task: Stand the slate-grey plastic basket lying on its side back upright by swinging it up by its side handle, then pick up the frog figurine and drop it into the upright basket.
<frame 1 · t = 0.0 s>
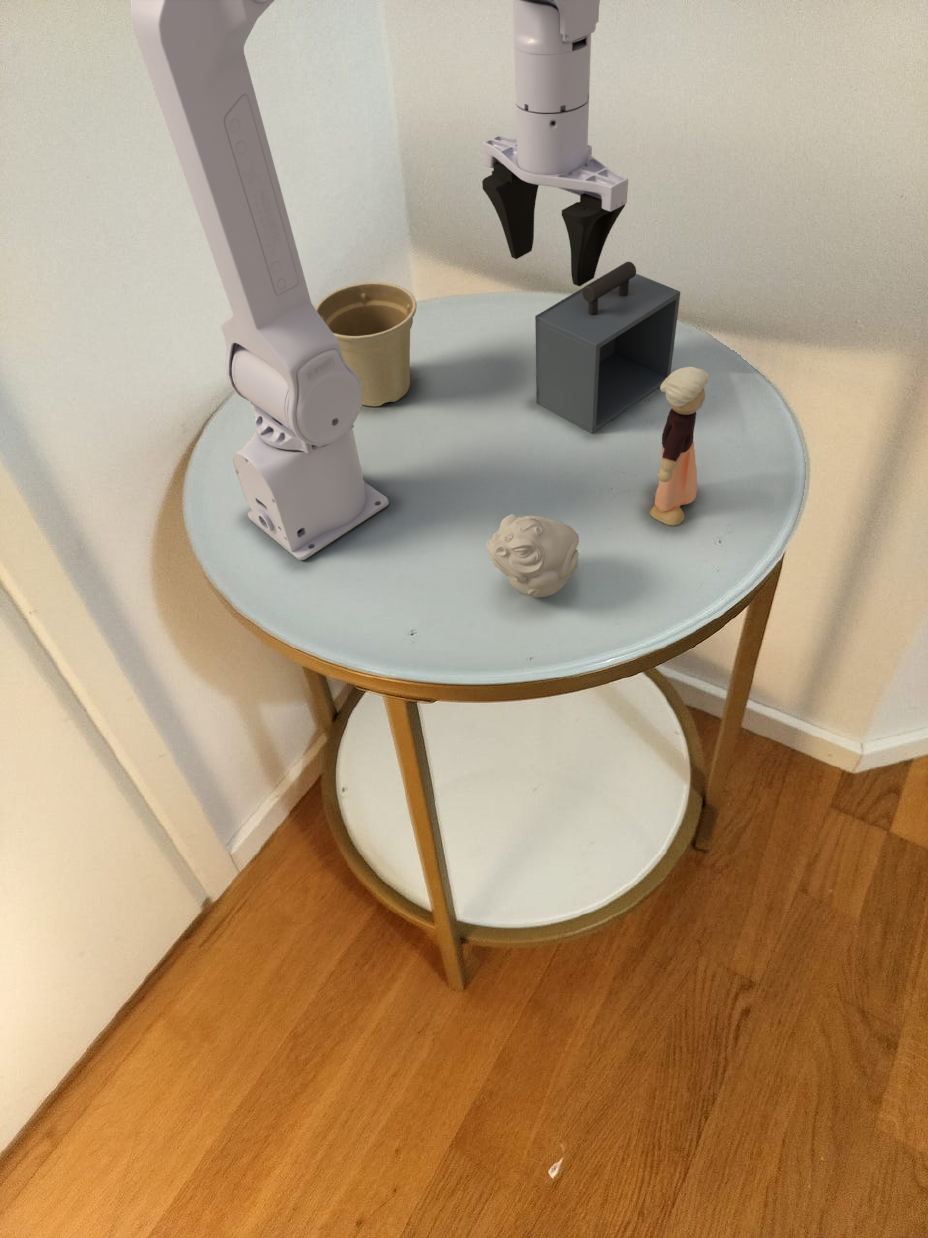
hand: (551, 267, 78), 10 cm above the table, tool pointing down, fingers open, 7 cm apart
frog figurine: (535, 589, 66), on the table
flower pot: (379, 390, 85), on the table
grandmother figurine: (670, 503, 71), on the table
basket: (606, 335, 77), point 6 cm above the table, hinge at 90.0°
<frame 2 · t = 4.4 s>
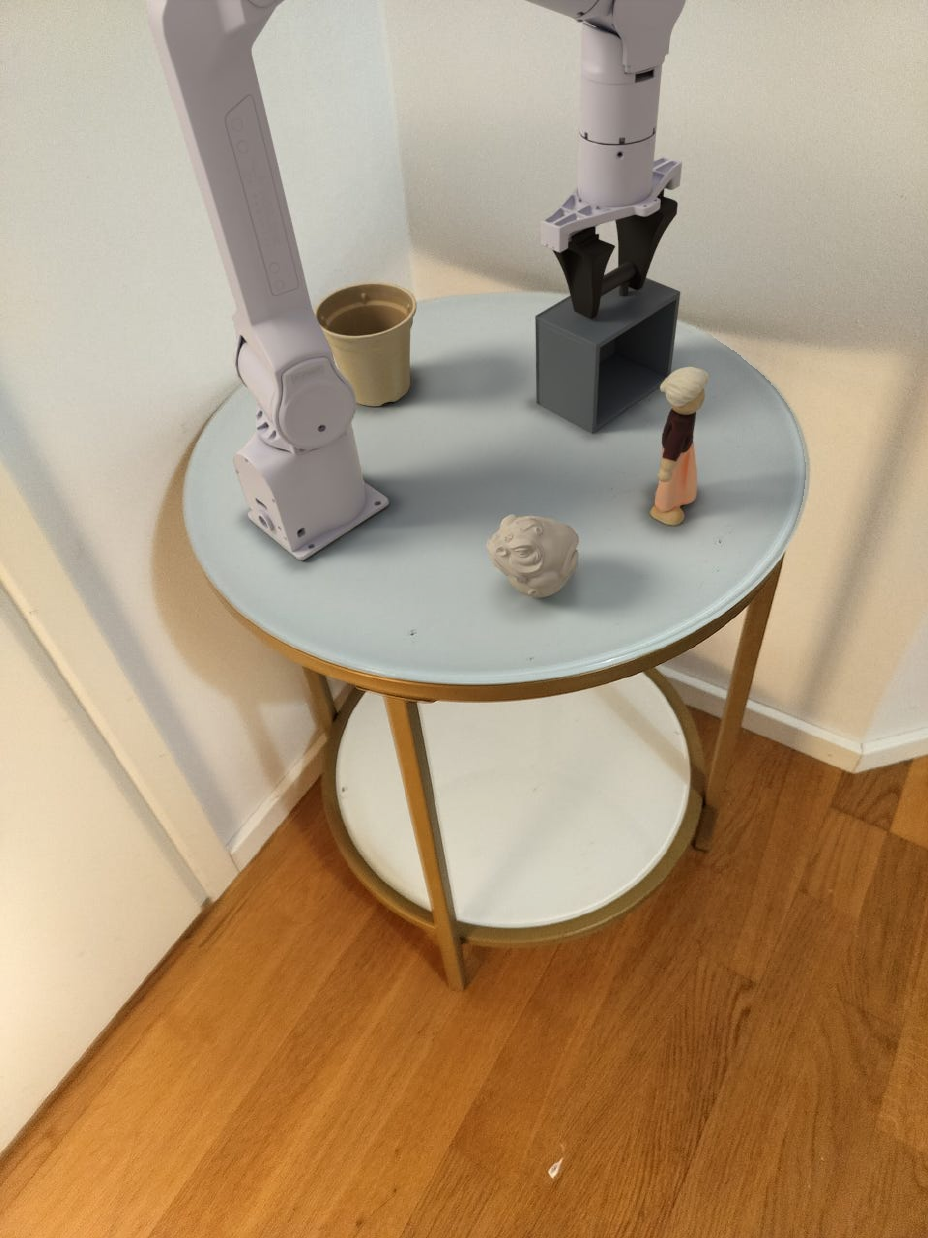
hand: (608, 299, 75), 9 cm above the table, tool pointing down, fingers closed on basket, 5 cm apart
basket: (606, 335, 77), point 6 cm above the table, hinge at 90.0°, touching gripper
everything else where it was.
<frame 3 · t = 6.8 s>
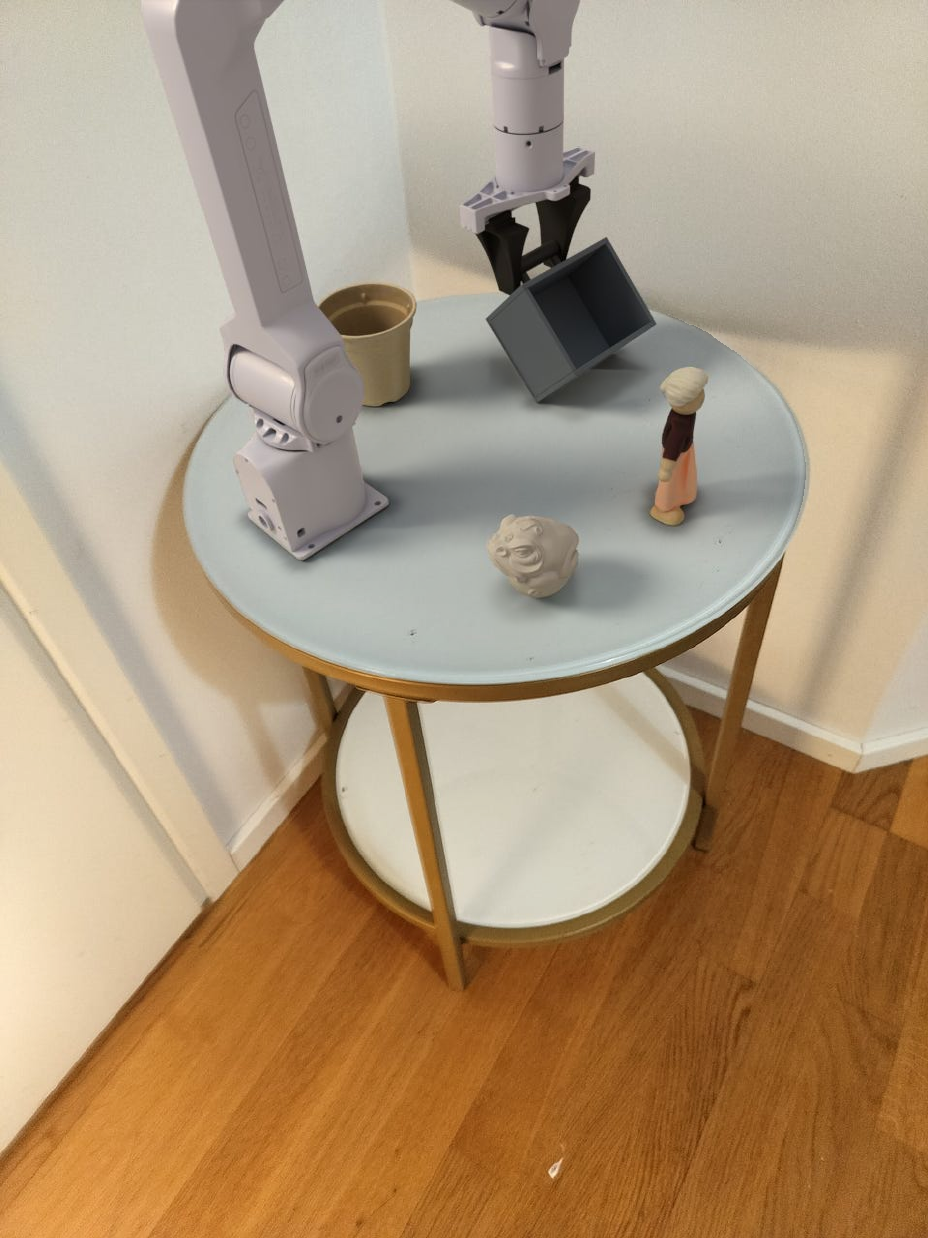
hand: (531, 279, 80), 8 cm above the table, tool pointing down, fingers closed on basket, 5 cm apart
basket: (563, 308, 80), point 7 cm above the table, hinge at 44.0°, touching gripper
everything else where it was.
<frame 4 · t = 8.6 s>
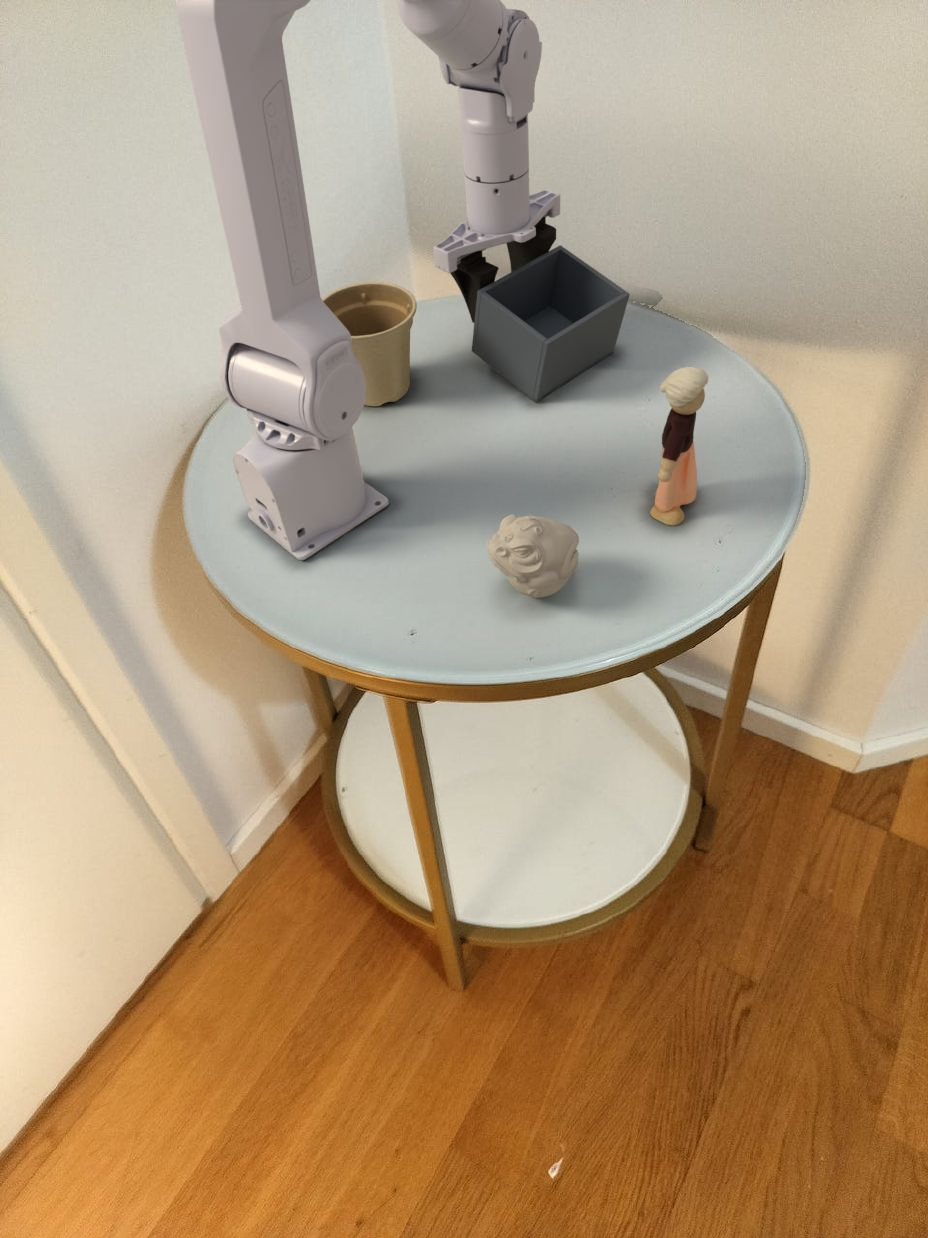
hand: (502, 311, 86), 3 cm above the table, tool pointing down, fingers closed on basket, 5 cm apart
basket: (538, 315, 83), point 5 cm above the table, hinge at 12.4°, touching gripper
everything else where it was.
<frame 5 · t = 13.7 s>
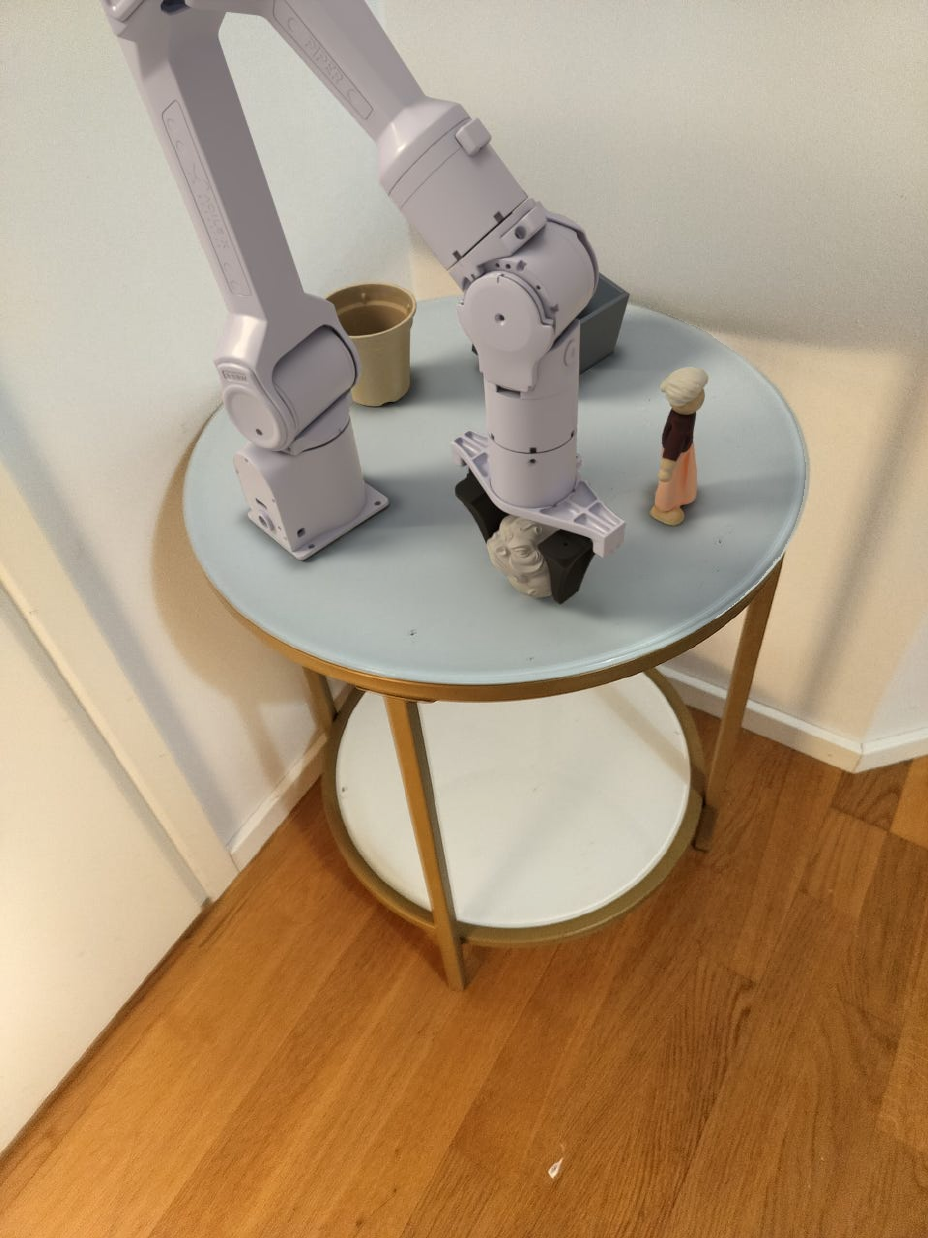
hand: (534, 573, 65), 2 cm above the table, tool pointing down, fingers closed on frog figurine, 6 cm apart
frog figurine: (535, 589, 66), on the table, touching gripper
basket: (538, 315, 83), point 5 cm above the table, hinge at 12.7°
everything else where it was.
when the fingers open (9 cm above the table, at t = 18.4 s): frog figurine moves 1 cm, resting on basket.
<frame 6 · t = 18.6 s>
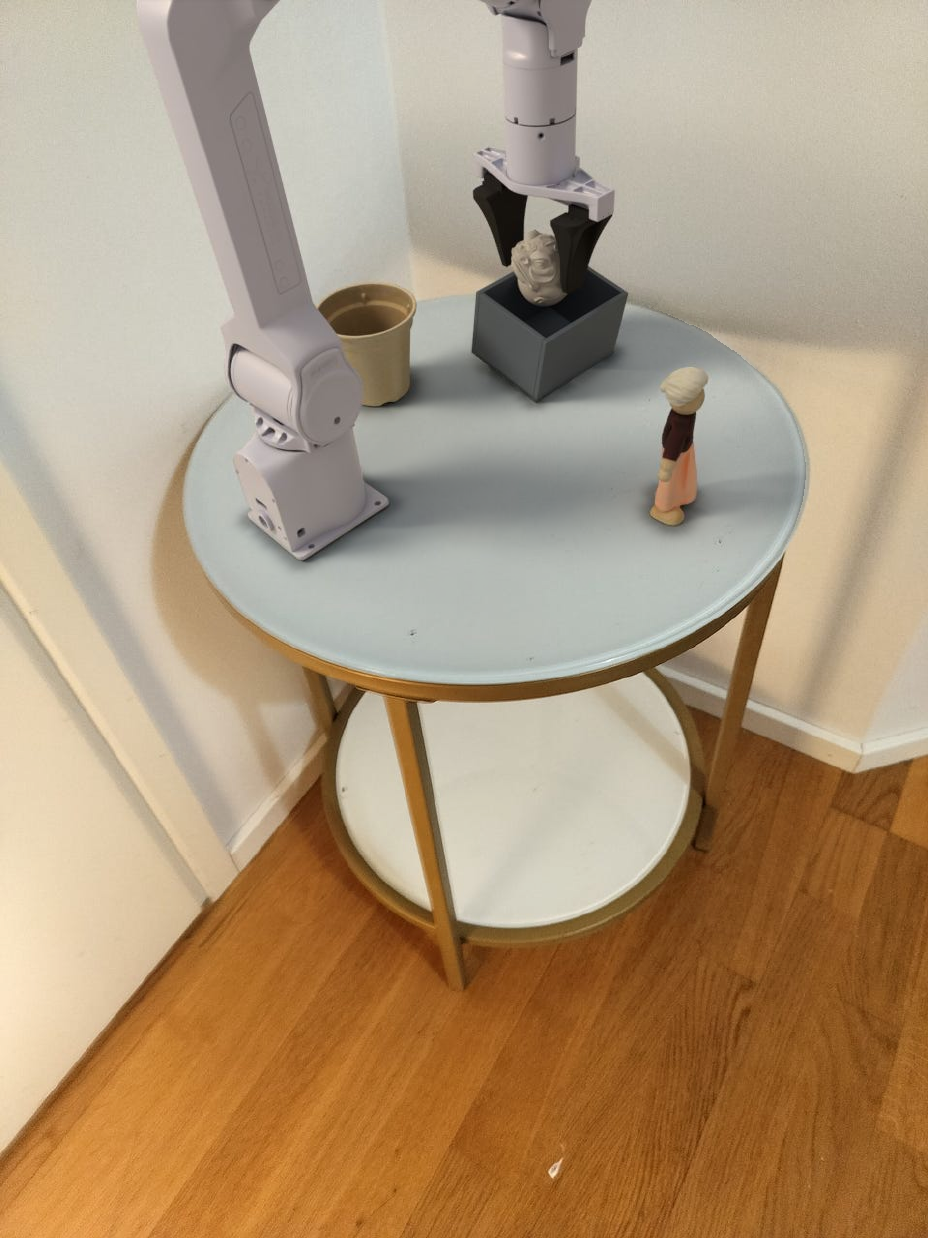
hand: (541, 274, 79), 9 cm above the table, tool pointing down, fingers open, 7 cm apart
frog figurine: (535, 299, 82), point 6 cm above the table, touching basket, gripper
basket: (537, 316, 83), point 5 cm above the table, hinge at 11.1°, touching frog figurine
everything else where it was.
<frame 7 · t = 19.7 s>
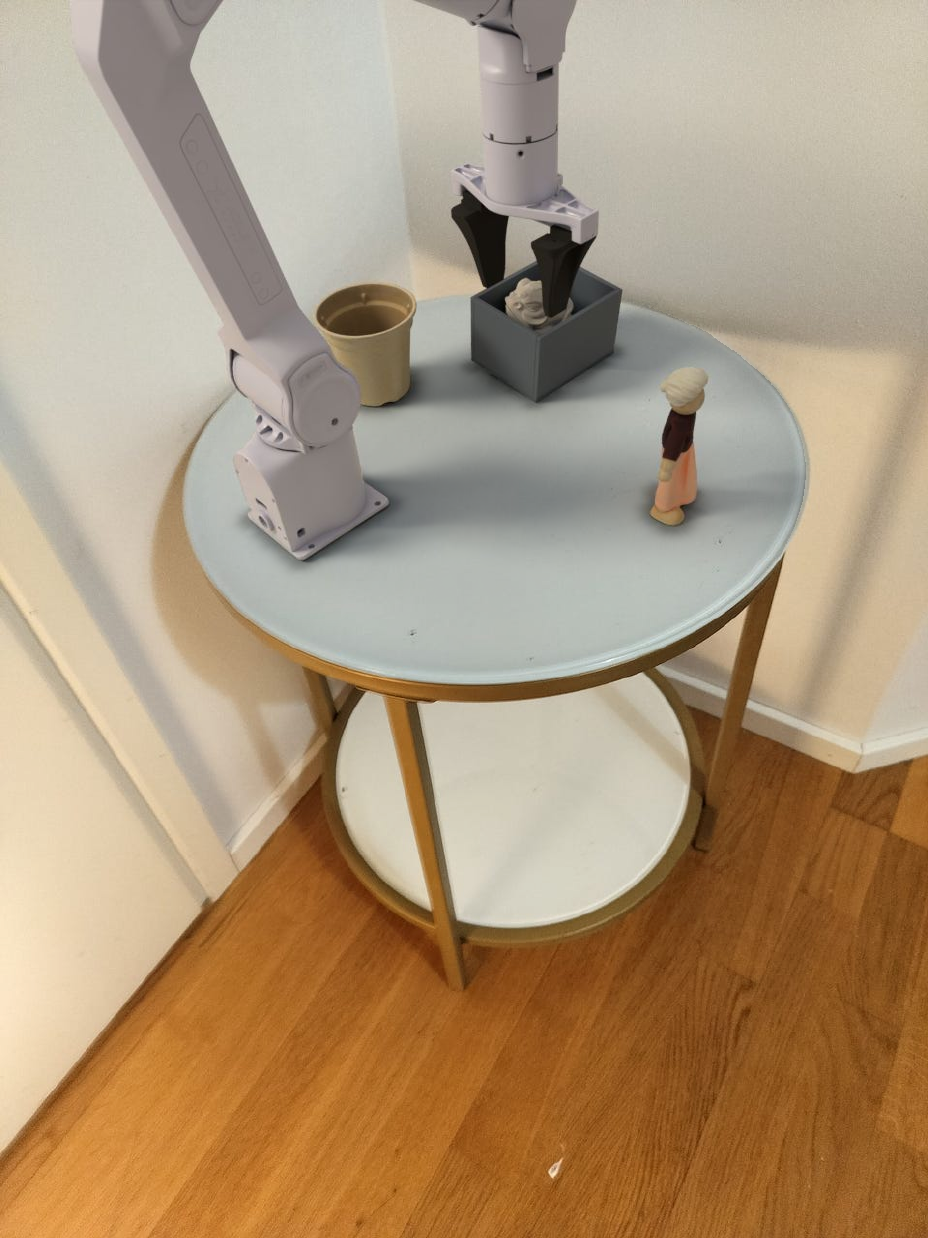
hand: (523, 297, 76), 10 cm above the table, tool pointing down, fingers open, 7 cm apart
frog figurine: (533, 345, 86), point 1 cm above the table, touching basket
basket: (534, 319, 83), point 4 cm above the table, hinge at 5.2°, touching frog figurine
everything else where it was.
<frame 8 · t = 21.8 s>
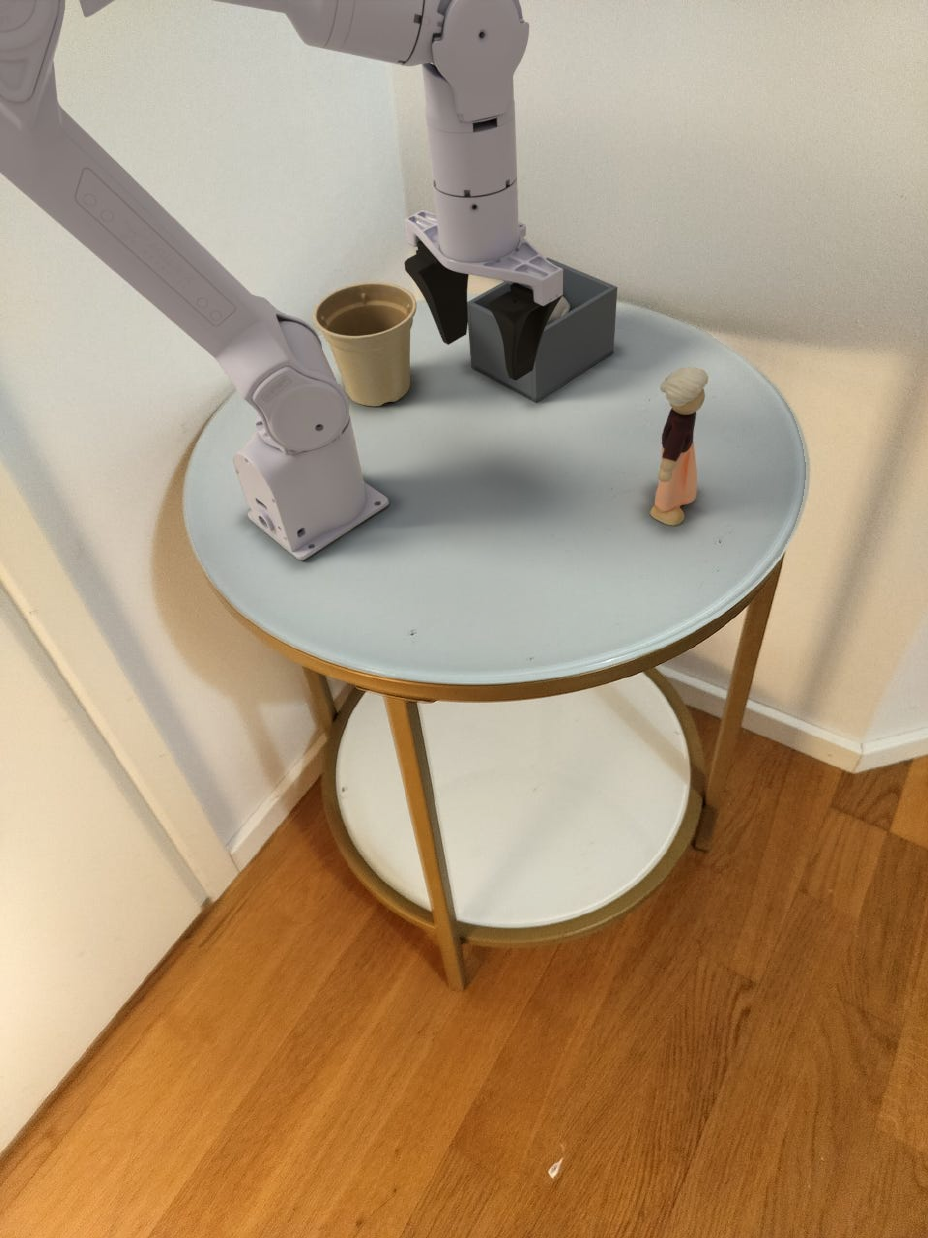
hand: (487, 355, 69), 10 cm above the table, tool pointing down, fingers open, 7 cm apart
basket: (531, 323, 84), point 3 cm above the table, hinge at 0.0°, touching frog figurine
everything else where it was.
at the end: basket at +0° (first picture: +90°); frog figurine inside the target area on the basket (1.4 cm from its centre), point 0.6 cm above the basket's base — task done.
